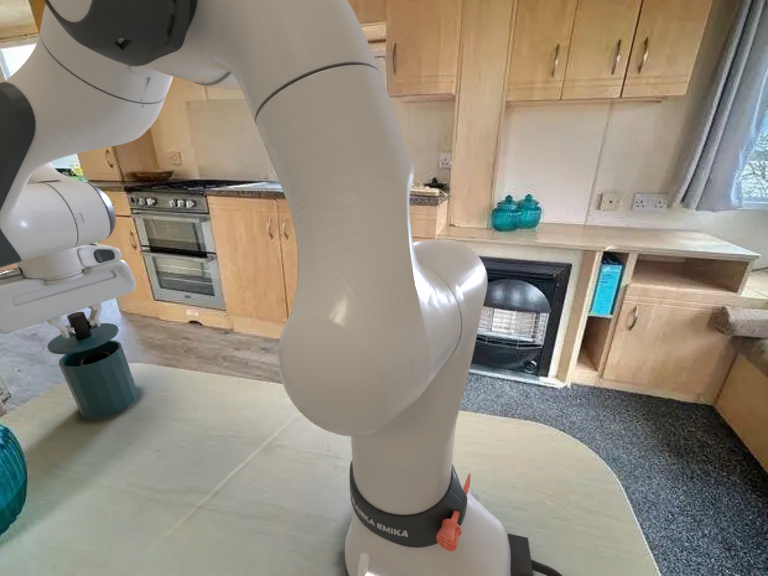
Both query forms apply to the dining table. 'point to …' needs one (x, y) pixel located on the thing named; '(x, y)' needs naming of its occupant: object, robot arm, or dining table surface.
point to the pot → (100, 381)
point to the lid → (82, 336)
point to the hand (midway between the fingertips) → (82, 331)
